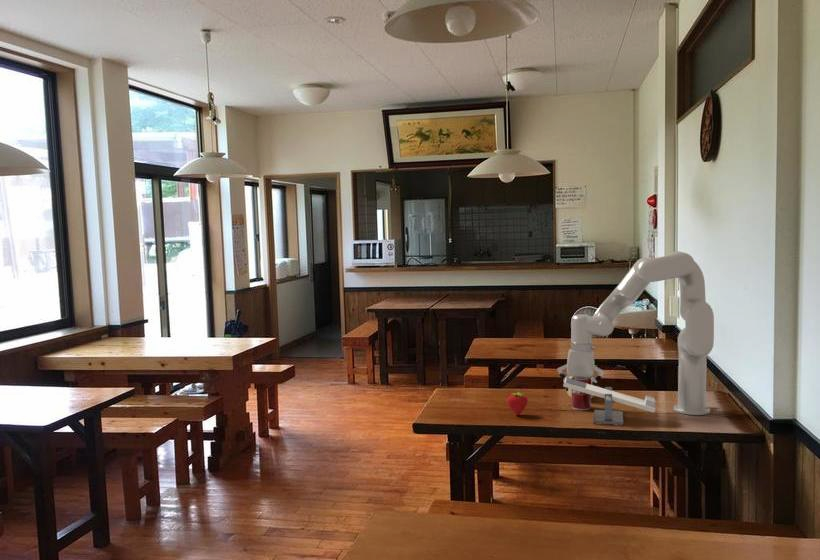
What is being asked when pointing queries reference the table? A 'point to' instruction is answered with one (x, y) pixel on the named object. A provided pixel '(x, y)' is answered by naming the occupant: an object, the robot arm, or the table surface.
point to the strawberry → (517, 402)
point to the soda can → (581, 396)
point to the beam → (617, 397)
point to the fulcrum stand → (608, 412)
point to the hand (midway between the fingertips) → (580, 391)
